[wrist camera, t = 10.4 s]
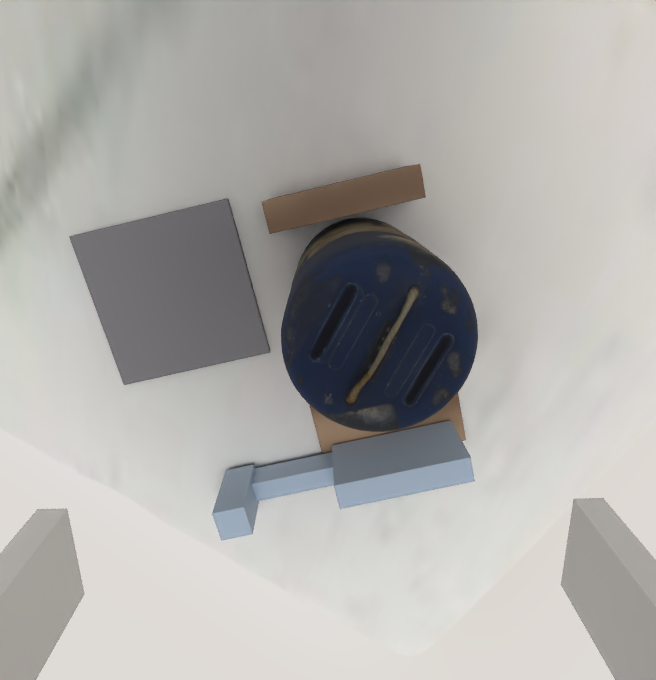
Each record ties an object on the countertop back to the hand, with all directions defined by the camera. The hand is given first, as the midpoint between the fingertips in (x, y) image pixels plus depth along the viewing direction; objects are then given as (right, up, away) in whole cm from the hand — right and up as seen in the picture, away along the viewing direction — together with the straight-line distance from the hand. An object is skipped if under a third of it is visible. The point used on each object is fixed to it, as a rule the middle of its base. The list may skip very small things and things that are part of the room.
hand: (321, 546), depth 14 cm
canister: (+2, +10, +27) cm, 28 cm away
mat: (-12, +9, +26) cm, 30 cm away
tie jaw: (+1, -5, +30) cm, 31 cm away
